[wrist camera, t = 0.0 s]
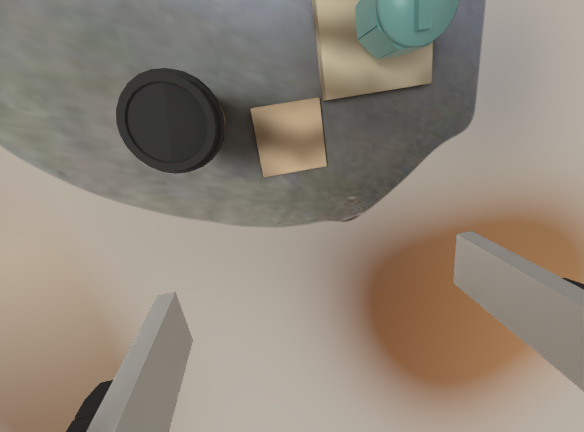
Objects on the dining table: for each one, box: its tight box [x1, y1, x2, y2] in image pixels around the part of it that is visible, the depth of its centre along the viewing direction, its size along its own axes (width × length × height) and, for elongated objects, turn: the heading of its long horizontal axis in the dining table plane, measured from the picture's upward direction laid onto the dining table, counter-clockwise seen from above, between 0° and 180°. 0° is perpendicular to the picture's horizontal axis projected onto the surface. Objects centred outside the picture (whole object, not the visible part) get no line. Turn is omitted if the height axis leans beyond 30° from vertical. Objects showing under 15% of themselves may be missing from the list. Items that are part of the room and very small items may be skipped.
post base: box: [312, 0, 433, 101], centre depth 30 cm, size 14×14×10 cm
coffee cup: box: [116, 68, 226, 173], centre depth 28 cm, size 8×8×15 cm
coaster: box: [250, 97, 327, 177], centre depth 37 cm, size 9×9×1 cm
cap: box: [355, 0, 459, 59], centre depth 27 cm, size 7×7×7 cm
